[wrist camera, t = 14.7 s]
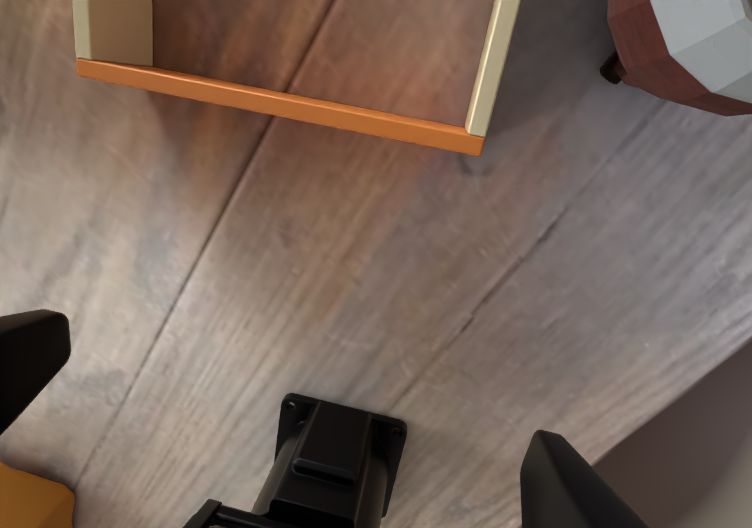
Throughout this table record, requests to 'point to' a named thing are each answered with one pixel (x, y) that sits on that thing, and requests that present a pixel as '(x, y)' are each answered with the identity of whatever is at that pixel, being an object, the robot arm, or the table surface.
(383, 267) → the table surface
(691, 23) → the mate gourd
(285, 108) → the rectangular frame
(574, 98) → the table surface
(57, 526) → the coffee package
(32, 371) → the robot arm
